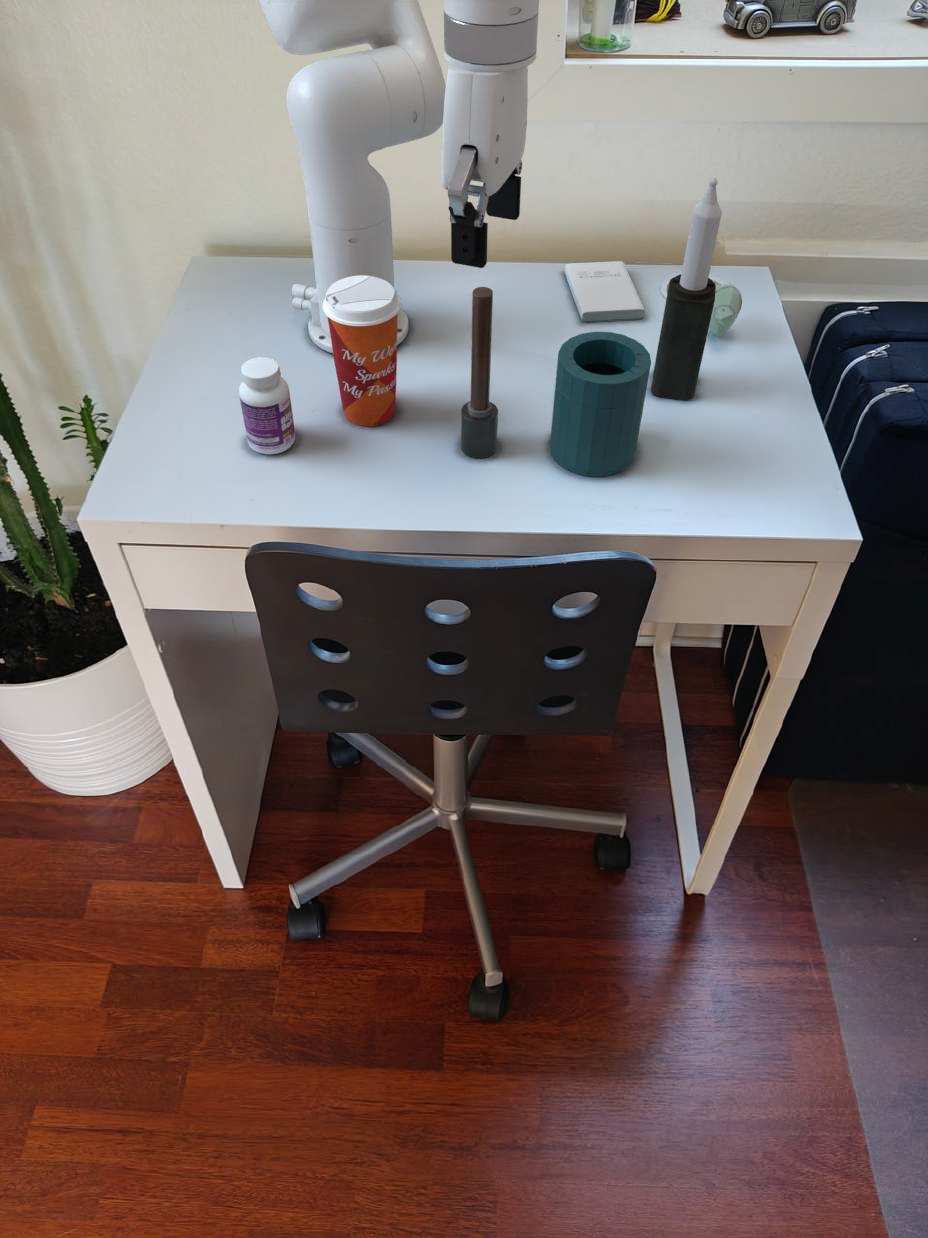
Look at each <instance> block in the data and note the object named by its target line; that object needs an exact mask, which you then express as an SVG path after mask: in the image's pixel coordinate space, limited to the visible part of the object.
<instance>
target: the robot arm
mask: <svg viewBox="0 0 928 1238" xmlns="http://www.w3.org/2000/svg"><path fill="white" fill-rule="evenodd" d="M258 3H259V5H260V8H261V10H262V13H263V15H264V18H265V21H266V23H267V26H268V27H269V30H270V32H271V33H272V36H273V38H274V39H275V41H276V43H277V44H278V45H279V46H280V47H281V48H282V50H283V51H285V52H286V53H288V54H291V55H296V56H306V55H307V56H308V55H315V54H321V53H327V52H332V51H335V50H336V51H337V50H341V49H346V48H351V47H357V46H360V45H364V44H367V45H369V46H370V47H371V49H368V50H363V51H361V50H360V51H355V52H349V53H345V54H340V55H336V56H331V57H327V58H324V59H321V60H317V61H314V62H312V63H309V64H308V65H306V66H304V67H302V68H301V69H300V70H298V71H297V72H296V73H295V74H294V75H293V77H292V78H291V79H290V81H289V83H288V86H287V90H286V110H287V115H288V118H289V123H290V126H291V130H292V133H293V138H294V140H295V144H296V148H297V152H298V155H299V160H300V166H301V172H302V177H303V183H304V190H305V199H306V206H307V207H306V208H307V215H308V224H309V233H310V242H311V250H312V258H313V259H312V260H313V268H314V269H313V270H314V276H315V279H314V280H315V286H316V287H311V286H309V285H305V284H299V283H294V284H293V285H292V287H291V298H292V303H291V306H292V308H293V309H295V310H299V311H306V312H308V313H309V314H311V315H310V317H309V319H308V324H307V327H308V334H309V338H310V339H311V341H312V342H313V343H314V344H315V345H316V346H317V347H319V348H320V349H322V350H324V351H325V352H328V353H330V354H333V349H332V342H331V335H330V329H329V323H328V317H327V315H326V314H325V313H324V310H323V302H324V300H325V298H326V293H327V290H328V289H329V287H330V286H331V285H332V284H333V283H335V282H337V281H338V280H341V279H343V278H347V277H351V276H361V275H365V276H373V277H377V278H380V279H383V280H385V281H387V282H388V283H390V284H391V285H392V287H394V288H395V271H394V270H395V268H394V249H393V247H394V246H393V228H392V227H393V226H392V224H393V223H392V207H391V195H390V190H389V187H388V184H387V182H386V180H385V179H384V177H383V176H382V174H381V173H380V172H378V170H377V169H376V168H375V167H374V166H373V165H372V164H371V163H370V161H369V156H370V154H373V153H374V152H378V151H381V150H383V149H386V148H390V147H395V146H398V145H402V144H405V143H409V142H413V141H416V140H417V141H418V140H421V139H423V138H427V137H429V136H431V135H433V134H435V133H436V132H437V131H439V130H440V128H442V141H441V143H442V145H441V185H442V187H443V188H444V190H447V198H448V202H449V203H448V211H449V222H450V244H451V245H450V251H451V252H450V253H451V254H450V255H451V257H450V259H451V262H452V263H453V264H456V265H461V266H468V267H472V268H473V267H474V268H479V269H484V268H485V266H486V265H487V264H488V232H489V231H488V230H489V229H488V227H489V224H488V222H484V221H485V217H486V215H487V216H489V217H492V218H493V217H494V218H498V219H499V218H500V219H505V220H510V221H511V220H512V221H517V220H518V219H519V217H520V216H521V215H520V214H521V213H520V212H521V191H522V176H520V175H521V174H522V171H523V170H522V169H523V161H522V158H523V156H524V152H525V148H526V142H527V141H526V139H527V125H528V101H529V100H528V96H529V95H528V94H529V93H528V91H529V88H528V86H529V85H528V84H529V83H528V79H529V78H528V77H529V76H528V71H529V69H528V66H530V65H532V64H533V63H534V62H535V61H536V59H537V52H538V50H537V49H538V29H539V11H540V9H539V8H540V0H443V57H444V60H445V61H446V62H447V63H449V65H448V67H447V74H446V81H445V77H444V73H443V69H442V67H441V64H440V60H439V58H438V55H437V52H436V49H435V47H434V43H433V40H432V37H431V34H430V31H429V28H428V25H427V24H426V20H425V17H424V13H423V11H422V9H421V6H420V2H419V0H258ZM472 181H473V182H478V183H482V185H476V184H471V182H472ZM469 196H472V197H478V200H477V204H476V207H475V206H474V204H473V202H472V201H468V200H469ZM408 333H409V318H408V315H407V313H406V312H405V311H404V309H402V308H401V307H400V310H399V312H398V321H397V346H398V345H399V344H401V343H402V342H403V341H404V340H405V339H406V337H407V335H408Z"/></svg>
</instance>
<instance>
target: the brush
mask: <svg viewBox="0 0 928 1238" xmlns="http://www.w3.org/2000/svg"><path fill="white" fill-rule="evenodd" d="M471 294H472V296H471V297H472V298H471V299H472V300H471V301H472V303H471V307H472V308H471V348H470V349H471V351H470V352H471V353H470V354H471V355H470V357H471V358H470V400H469V401H467V402H465V403H464V404H463V405H462V407H461V409H460V450H461V452H462V453H463V454H464V455H465V456H467V457H469V458H472V459H486V458H489V457H491V456H493V455H494V454H495V453H496V452H497V448H498V447H497V446H498V427H499V425H498V424H499V409H498V407H497V405H496V404H494V402H491V401H490V392H491V391H490V390H491V361H492V335H493V333H492V332H493V306H494V305H493V302H494V301H493V300H494V291H493V290H492V289H491V288H489V287H487V286H478V287H475V288H473V290H472V293H471Z"/></svg>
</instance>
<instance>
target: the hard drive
mask: <svg viewBox="0 0 928 1238" xmlns="http://www.w3.org/2000/svg"><path fill="white" fill-rule="evenodd" d="M564 275H565V278H566V281H567V283H568V286H569V289H570V292H571V294H572V297H573V300H574V304H575V305H576V308H577V312H578V314H579V317H580V320H581V322H583V323H600V322H601V323H602V322H617V321H636V320H642V319H644V318H645V313H646V310H645V307H644V305H643V302H642V301H641V298H640V296H639V294H638V291H637V289H636V287H635V285H634V283H633V280H632V277H631V275H630V273H629V271H628V268H627V267H626V264H625V262H624V261H623V260H613V261H594V262H593V261H592V262H591V261H590V262H574V263H573V262H572V263H567V264H565V265H564Z"/></svg>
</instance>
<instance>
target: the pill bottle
mask: <svg viewBox="0 0 928 1238" xmlns="http://www.w3.org/2000/svg"><path fill="white" fill-rule="evenodd" d="M240 372H241V379H242V381H241V383H240V385H239V389H238V398H239V402H240V407H241V413H242V416H243V424H244V428H245V434H246V439H247V443H248V446H249V447H250V448H251V449H252V450H253V451H254V452H256V453H258V454H262V455H276V454H280V453H284V452H286V451H287V450H289V449H290V448H291V447H292V446H293V444H294V442H295V441H296V429H295V422H294V421H295V420H294V414H293V408H292V401H291V393H290V392H291V391H290V388H289V384H288V382H287V381H286V380H285V378H283V377H282V376H281V375H282V374H281V369H280V365H279V363H278V361H277V360H275V359H273V358H271V357H267V356H266V357H265V356H258V357H253V358H250V359H248V360H246V361H245V362H244V363H242V365H241V367H240Z"/></svg>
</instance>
